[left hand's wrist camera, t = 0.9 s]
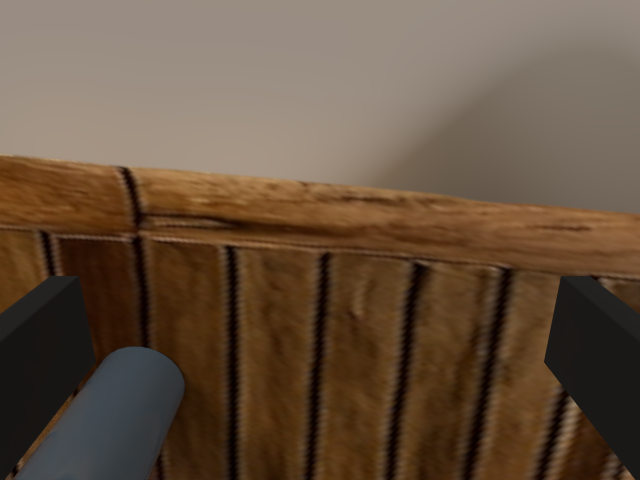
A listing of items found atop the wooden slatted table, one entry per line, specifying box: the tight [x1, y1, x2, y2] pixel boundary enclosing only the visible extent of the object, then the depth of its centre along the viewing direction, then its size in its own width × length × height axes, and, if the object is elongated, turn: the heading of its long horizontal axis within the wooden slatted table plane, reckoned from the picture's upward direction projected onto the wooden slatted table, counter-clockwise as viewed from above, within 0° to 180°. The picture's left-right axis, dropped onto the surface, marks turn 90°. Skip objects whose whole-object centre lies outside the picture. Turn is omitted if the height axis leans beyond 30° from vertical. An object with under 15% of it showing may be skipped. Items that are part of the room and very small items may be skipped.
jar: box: [13, 347, 185, 480], centre depth 39 cm, size 9×9×18 cm
